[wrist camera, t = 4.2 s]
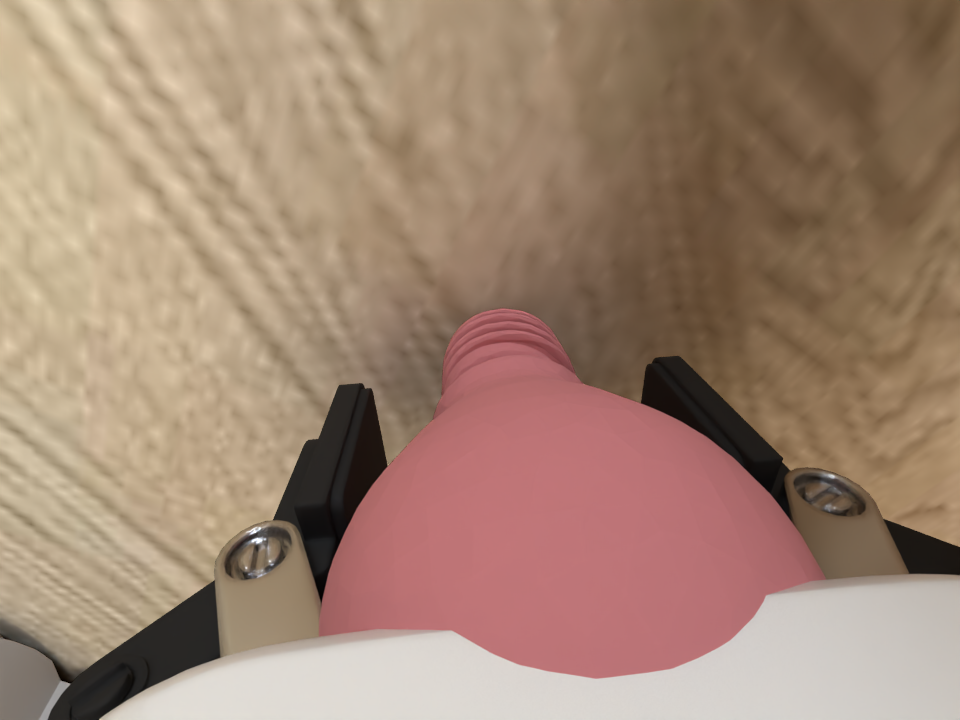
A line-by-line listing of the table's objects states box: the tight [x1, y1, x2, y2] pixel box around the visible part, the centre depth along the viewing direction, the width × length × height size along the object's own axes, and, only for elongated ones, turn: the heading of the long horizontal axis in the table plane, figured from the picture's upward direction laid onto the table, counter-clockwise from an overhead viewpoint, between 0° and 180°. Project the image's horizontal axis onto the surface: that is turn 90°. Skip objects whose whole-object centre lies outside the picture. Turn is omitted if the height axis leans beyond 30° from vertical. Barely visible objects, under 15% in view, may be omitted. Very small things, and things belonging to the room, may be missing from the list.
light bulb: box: [319, 308, 826, 679], centre depth 9 cm, size 7×7×12 cm
